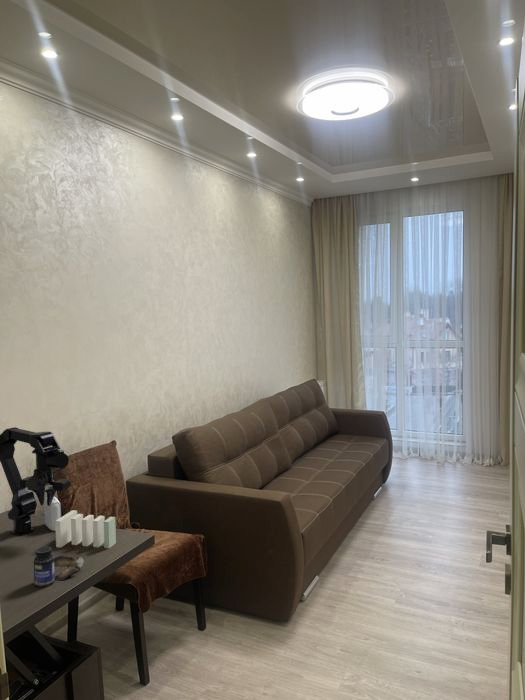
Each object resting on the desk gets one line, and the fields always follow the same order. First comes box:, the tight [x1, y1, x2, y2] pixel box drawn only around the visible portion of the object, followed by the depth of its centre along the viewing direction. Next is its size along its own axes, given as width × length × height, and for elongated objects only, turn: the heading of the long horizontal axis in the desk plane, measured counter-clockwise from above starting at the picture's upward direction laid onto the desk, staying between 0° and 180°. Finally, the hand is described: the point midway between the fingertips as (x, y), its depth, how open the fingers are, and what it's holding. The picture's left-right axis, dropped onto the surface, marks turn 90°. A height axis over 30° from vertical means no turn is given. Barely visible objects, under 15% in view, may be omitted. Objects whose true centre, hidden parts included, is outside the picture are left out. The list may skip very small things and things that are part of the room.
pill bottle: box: [33, 546, 56, 588], centre depth 170 cm, size 6×6×11 cm
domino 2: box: [71, 513, 84, 546], centre depth 201 cm, size 2×5×10 cm, turn 167°
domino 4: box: [92, 515, 106, 548], centre depth 199 cm, size 2×5×10 cm, turn 167°
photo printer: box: [43, 496, 62, 532], centre depth 215 cm, size 10×4×12 cm, turn 39°
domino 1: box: [55, 509, 78, 548], centre depth 202 cm, size 2×11×10 cm, turn 167°
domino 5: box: [103, 516, 117, 549], centre depth 198 cm, size 2×5×10 cm, turn 167°
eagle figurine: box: [54, 553, 85, 581], centre depth 176 cm, size 8×7×9 cm
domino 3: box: [81, 514, 95, 547], centre depth 200 cm, size 2×5×10 cm, turn 167°
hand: (45, 505), depth 204 cm, fingers open, 3 cm apart
